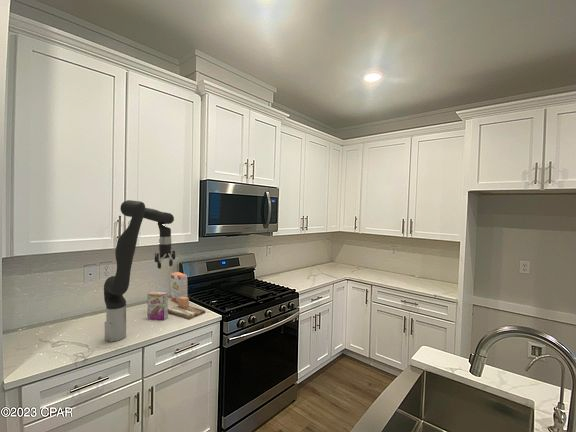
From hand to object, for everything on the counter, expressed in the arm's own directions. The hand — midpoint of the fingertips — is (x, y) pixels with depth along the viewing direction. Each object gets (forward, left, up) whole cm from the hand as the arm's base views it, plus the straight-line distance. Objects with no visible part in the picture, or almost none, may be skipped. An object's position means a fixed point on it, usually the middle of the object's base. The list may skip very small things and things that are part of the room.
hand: (165, 267), depth 192 cm
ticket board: (+6, -13, -30) cm, 33 cm away
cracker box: (+18, +8, -30) cm, 36 cm away
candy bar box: (-10, -6, -30) cm, 32 cm away
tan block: (+10, -6, -28) cm, 31 cm away
